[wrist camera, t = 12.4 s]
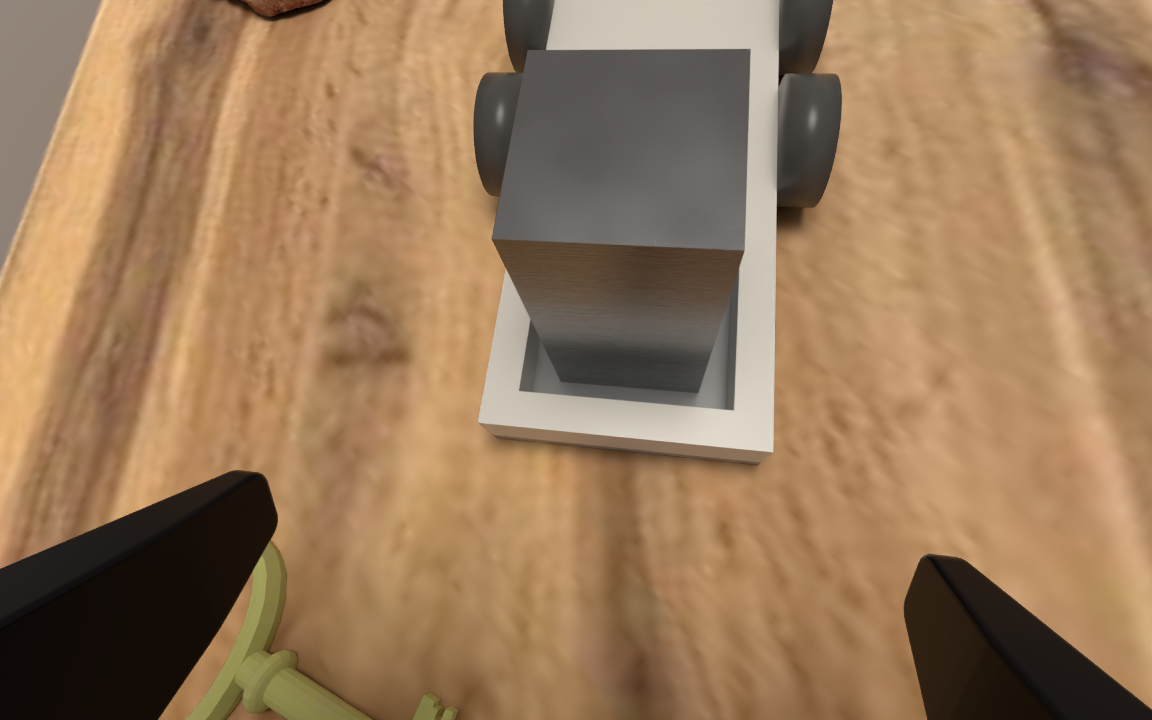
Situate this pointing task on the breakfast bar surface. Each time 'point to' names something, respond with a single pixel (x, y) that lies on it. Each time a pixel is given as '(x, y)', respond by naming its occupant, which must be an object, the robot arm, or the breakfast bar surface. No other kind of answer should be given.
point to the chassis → (774, 179)
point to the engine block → (627, 209)
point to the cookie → (277, 5)
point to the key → (279, 665)
